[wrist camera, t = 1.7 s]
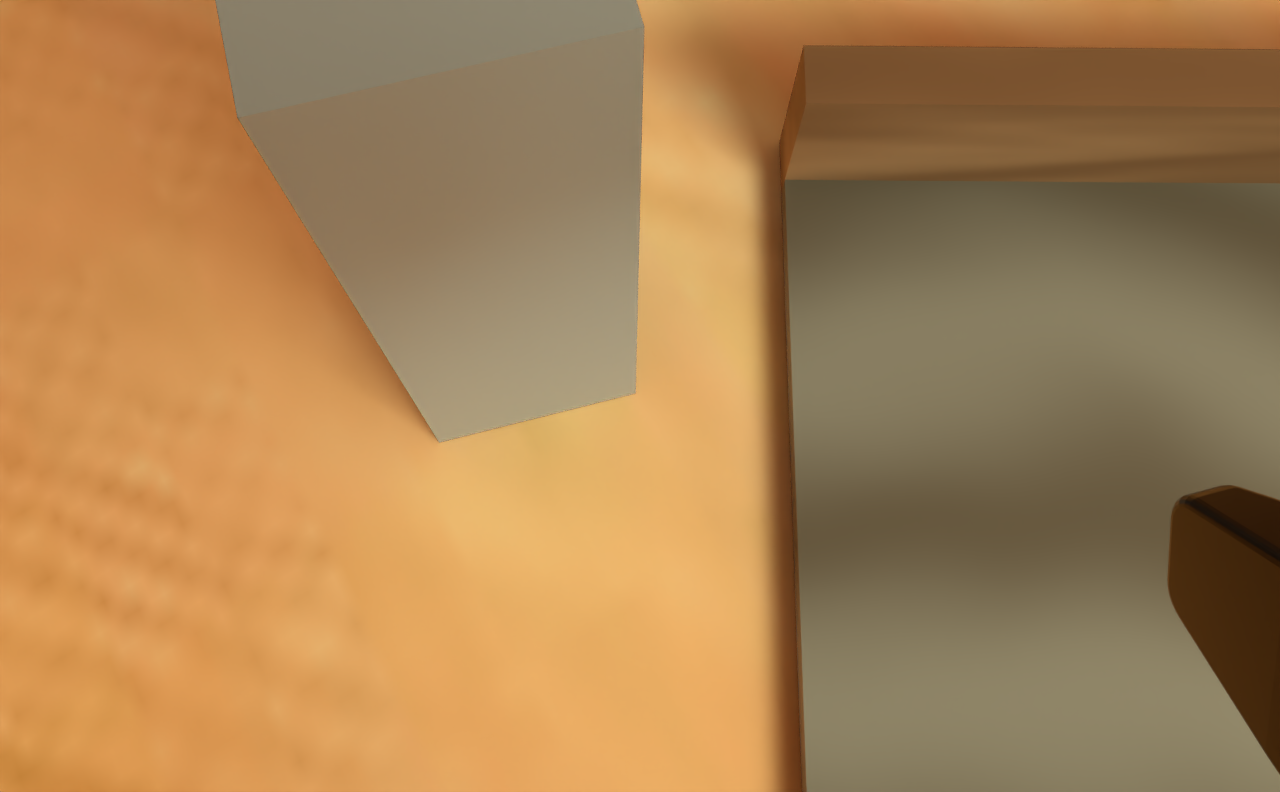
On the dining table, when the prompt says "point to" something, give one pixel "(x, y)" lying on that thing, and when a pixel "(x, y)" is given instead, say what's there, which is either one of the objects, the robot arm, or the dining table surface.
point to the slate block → (462, 185)
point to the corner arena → (1022, 406)
